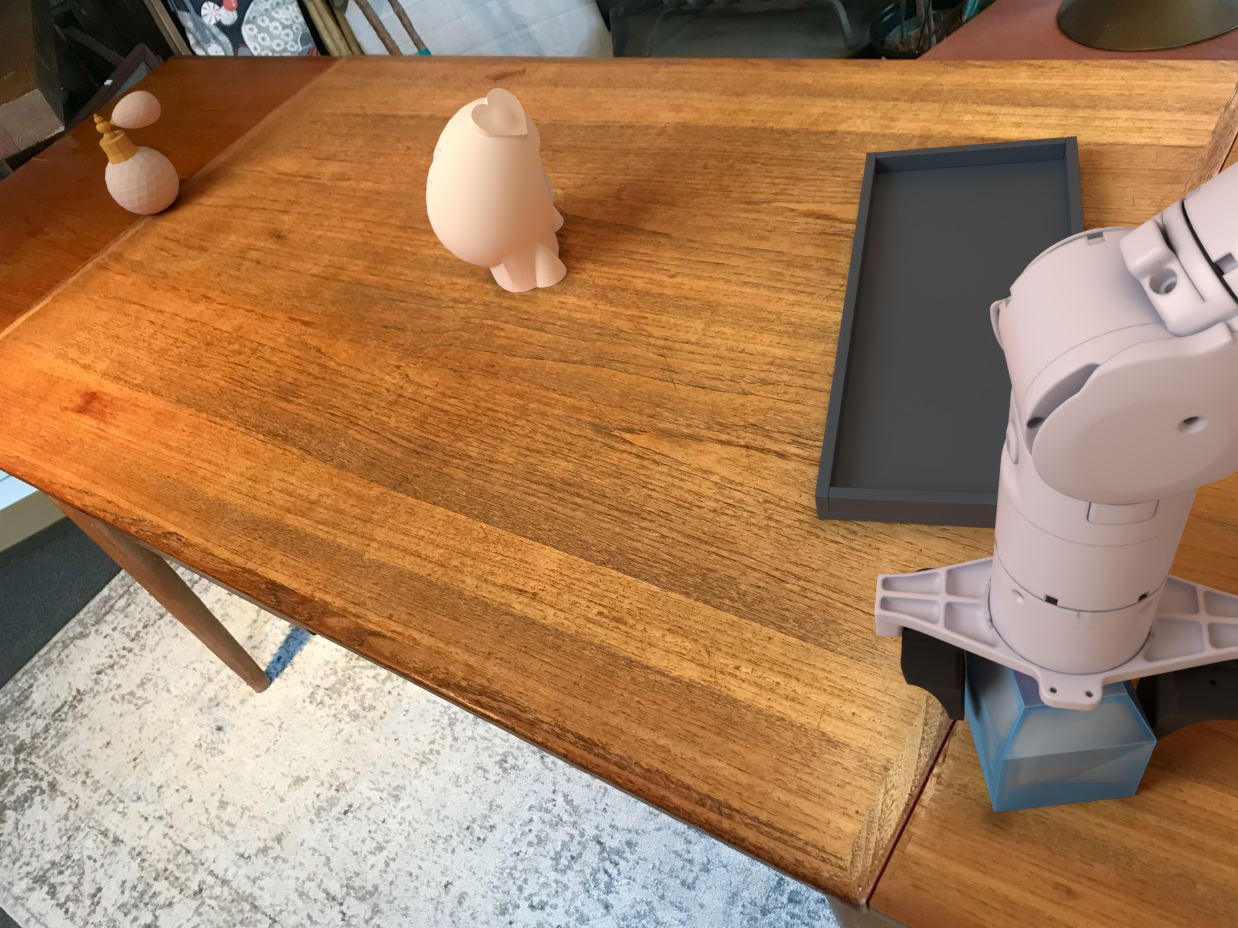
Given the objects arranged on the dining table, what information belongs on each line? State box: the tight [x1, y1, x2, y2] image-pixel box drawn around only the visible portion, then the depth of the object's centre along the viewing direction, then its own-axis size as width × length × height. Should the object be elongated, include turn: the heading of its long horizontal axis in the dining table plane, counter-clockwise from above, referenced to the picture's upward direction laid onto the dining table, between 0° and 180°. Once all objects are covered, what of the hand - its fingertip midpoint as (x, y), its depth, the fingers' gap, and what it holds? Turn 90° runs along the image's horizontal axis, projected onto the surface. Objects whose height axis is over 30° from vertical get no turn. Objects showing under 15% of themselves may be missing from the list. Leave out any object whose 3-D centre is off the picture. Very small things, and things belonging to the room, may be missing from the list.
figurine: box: [425, 87, 567, 293], centre depth 78 cm, size 11×11×15 cm
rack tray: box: [814, 135, 1085, 529], centre depth 64 cm, size 16×36×2 cm, turn 165°
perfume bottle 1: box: [93, 90, 180, 216], centre depth 104 cm, size 8×10×12 cm
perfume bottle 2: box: [964, 649, 1158, 813], centre depth 41 cm, size 6×6×12 cm
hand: (1046, 710), depth 43 cm, fingers closed on perfume bottle 2, 7 cm apart
